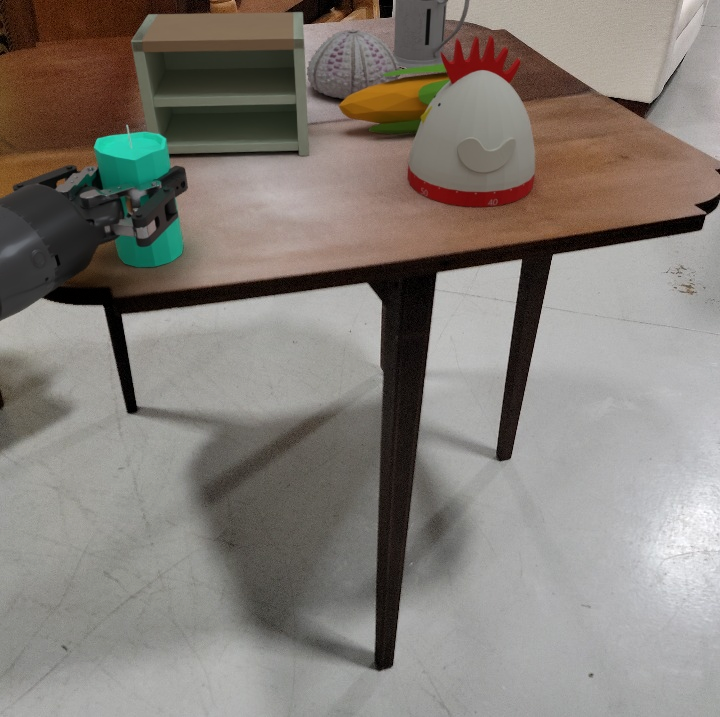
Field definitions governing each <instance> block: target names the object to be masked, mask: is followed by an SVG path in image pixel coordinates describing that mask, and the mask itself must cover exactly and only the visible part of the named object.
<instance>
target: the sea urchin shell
mask: <svg viewBox="0 0 720 717" xmlns="http://www.w3.org/2000/svg"><path fill="white" fill-rule="evenodd" d="M398 64H399V63H398V62H397V60H396V58H395V57H394V51H393V52H392V50H391V47H390V46H388V45H387V44H386V42H385V41H384V40H381V39H380V37H378V36H375V35H374V34H373V33H370V32H368V31H364V30H359V29H350V30H341V31H338V32H335V34H334V33H333V34H332V35H331V36H330V37H329V36H328V37H327V39H326V40H325V41H323V42H322V44H320V47H318V49H316V50H315V52H314V54H313V55H312V56H311V59H310V60H309V61H308V66H307V67H306V76H307V81H308V82H309V86H310V87H312V88H313V89H314V91H317V92H318V93H319V94H324V95H325V96H327V97H328V96H329V97H331V98H339V99H340V100H344V99H345V98H346V97H347V96H349V95H351V94H353V93H356V92H358V91H360V90H362V89H365V88H367V87H370V86H373V85H377V84H381V83H385V82H389V81H392V80H396V79H399V77H400V76H401V75H395V76H383V75H382V74H385V73H389V72H393V71H396V70H400V69H401V68H399V67H398Z"/></svg>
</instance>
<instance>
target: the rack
mask: <svg viewBox="0 0 720 717" xmlns="http://www.w3.org/2000/svg"><path fill="white" fill-rule="evenodd" d="M304 27H305V26H304V12H303V11H294V12H293V11H289V12H288V11H287V12H226V13H225V12H223V13H220V12H219V13H218V12H217V13H216V12H215V13H153V14H152V13H151V14H148V15H146V17H145V19H144V21H143V22H142V23H141V25H140V27H139V28H138V29H137V31H136V32H135V34H134V36H133V37H132V38H131V40H130V44H131V49H132V50H131V51H132V54H133V60H134V67H135V71H136V77H137V83H138V88H139V94H140V100H141V105H142V111H143V117H144V122H145V128H146V132H150V133H156V134H160V135H161V136H163V137H165V138H166V141H167V147H168V153H169V155H172V154H173V155H174V154H175V155H176V154H177V155H178V154H211V153H212V154H213V153H216V154H217V153H244V152H245V153H247V152H248V153H249V152H250V153H251V152H255V153H256V152H288V151H289V152H290V151H298V156H301V157H303V156H305V157H307V156H310V147H309V146H310V144H309V124H308V123H309V122H308V99H307V98H308V97H307V96H308V95H307V70H306V50H305V30H304Z"/></svg>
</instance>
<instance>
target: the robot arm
mask: <svg viewBox="0 0 720 717" xmlns="http://www.w3.org/2000/svg"><path fill="white" fill-rule="evenodd" d="M62 180H64V183H60V184H57V183H58V182H59V181H62ZM188 189H189V186H188V179H187V172H186V168H185V167H184V166H182V165H174V166H172V167H171V168H170V169H169V171H168V173H166V174H164V175H163V176H161V177H159V178H157V179H154V180H153V181H149V182H146V183H143V184H140V185H136V186H132V185H131V184H129V183H123V184H120V185H117V186H114V187H110V188H107V189H104V190H103V186H102V181H101V177H100V172H99V168H98V166H95V165H89V166H85V167H83V169H82V170H78V167H77V165H75V164H67V165H65V166H62V167H59V168H56V169H54V170H51V171H49V172H45V173H43V174H41V175H37V176H35V177H32V178H30V179H29V178H28V179H27V180H24V181H21V182H18V183H16V184H14V185H13V186H12V192H10V193H8V194H7V195H4V196H1V198H0V322H1V321H3V320H6V319H7V318H10V317H12V316H14V315H16V314H18V313H20V312H23V311H24V310H26V309H27V308H29V307H30V306H32V305H33V304H35V303H36V302H38V301H39V300H41V299H42V298H44V297H46V296H48V294H50V293H52V292H53V291H55V290H56V289H57V288H59V287H60V286H62V285H63V284H66V283H67V282H68V281H70V280H72V279H73V278H74V277H76V276H77V275H79V274H80V273H82V272H83V271H85V270H86V269H87V268H88V267H89V266H90V264H91V262H92V260H93V257H94V255H95V253H96V251H97V249H98V247H99V246H101V245H103V244H106V243H109V242H112V241H115V239H117V238H118V237H119V236H120V235H123V236H131V237H135V238H136V243H137V246H139V247H147V246H150V245H151V244H152V243H153V242H154V241H155V240H156V239H157V238H158V237H159V236H160V235H161V234H162V233H163V232H164V231H165V230H166V229H167V228H168V227H169V226H170V225H171V224H172V223H173V222H174V221H175V220H176V219H177V218H178V214H179V210H178V211H177V208H178V206H177V207H176V202H177V200H176V201H175V198H176V199H177V198H178V197H179V196H180V195H182V194H184V193H185V192H187V191H188ZM147 194H148V196H149V200H148V201H147V202H146V203H145V204H143V205H142V206H141V204H140V197H141V196H144V195H147ZM123 196H124V197H125V201H126V206H127V211H128V213H127V215H126V217H124V216H125V214H124V209H123V204H122V201H121V199H120V197H123Z"/></svg>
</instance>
